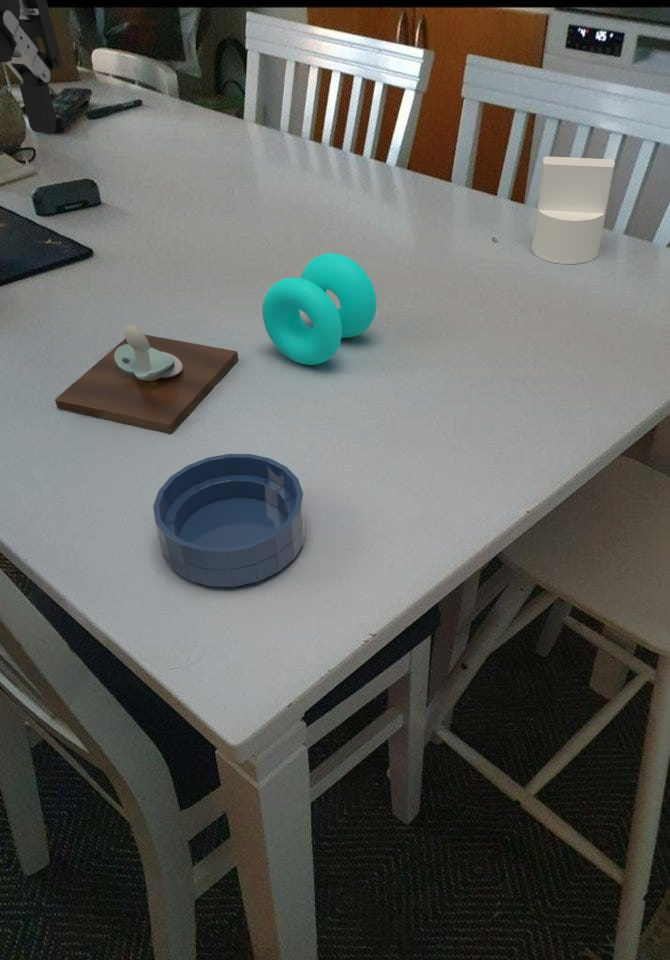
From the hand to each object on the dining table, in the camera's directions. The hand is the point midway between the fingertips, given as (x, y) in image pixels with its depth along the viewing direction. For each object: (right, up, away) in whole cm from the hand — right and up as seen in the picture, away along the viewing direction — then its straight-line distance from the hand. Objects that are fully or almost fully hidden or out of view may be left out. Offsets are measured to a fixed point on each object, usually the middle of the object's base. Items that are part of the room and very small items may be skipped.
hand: (11, 147), depth 66 cm
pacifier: (+6, -15, +23) cm, 29 cm away
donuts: (+25, -12, +28) cm, 39 cm away
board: (+6, -16, +23) cm, 29 cm away
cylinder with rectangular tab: (+58, +5, +46) cm, 74 cm away
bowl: (+18, -32, +4) cm, 37 cm away
